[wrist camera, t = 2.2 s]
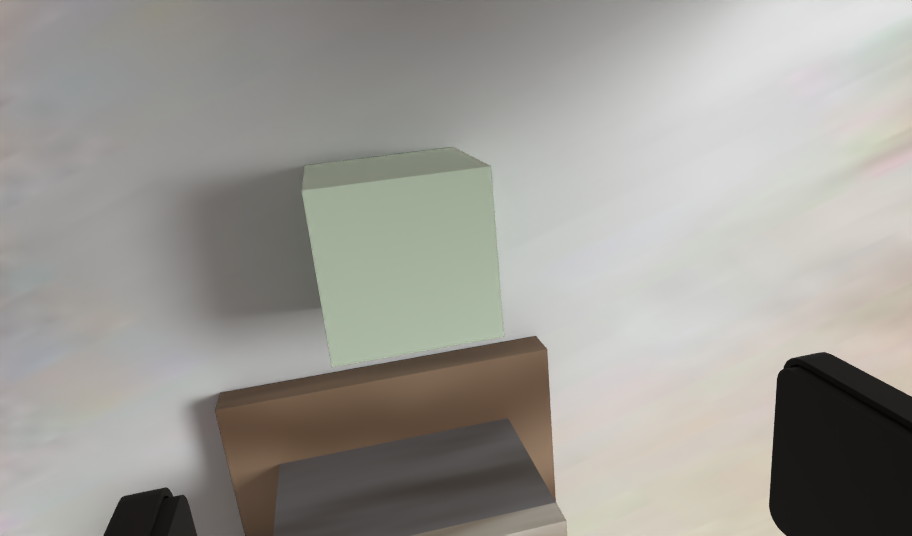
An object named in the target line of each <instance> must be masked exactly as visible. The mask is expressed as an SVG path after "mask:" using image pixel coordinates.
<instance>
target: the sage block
mask: <svg viewBox="0 0 912 536" xmlns="http://www.w3.org/2000/svg"><path fill="white" fill-rule="evenodd" d="M302 196H303V202H304V208H305V214H306V219H307V225H308V231H309V237H310V243H311V249H312V254H313V260H314V266H315V272H316V278H317V284H318V290H319V295H320V301H321V307H322V313H323V319H324V325H325V330H326V336H327V342H328V348H329V354H330V360H331V365H332V367H337V366H343V365H348V364H354V363H360V362H365V361H371V360H376V359H382V358H388V357H393V356H399V355H405V354H410V353H416V352H422V351H427V350H433V349H439V348H444V347H450V346H455V345H461V344H467V343H472V342H478V341H484V340H489V339H495V338H501V337H504V327H503V314H502V301H501V289H500V276H499V263H498V250H497V237H496V224H495V211H494V198H493V185H492V172H491V166H490V165H488V164H486V163H484V162H482V161H480V160H478V159H476V158H474V157H472V156H470V155H468V154H466V153H464V152H462V151H460V150H458V149H456V148H454V147H450V148H442V149H434V150H426V151H418V152H409V153H401V154H393V155H385V156H377V157H369V158H361V159H352V160H344V161H336V162H328V163H320V164H312V165H305V166H304V174H303V183H302Z"/></svg>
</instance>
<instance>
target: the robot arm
mask: <svg viewBox="0 0 912 536" xmlns="http://www.w3.org/2000/svg"><path fill="white" fill-rule="evenodd" d="M769 509H770V513H771V516H772V518H773V520H774V522H775V524H776V525H777V527H778V528H779V529H780V530H781V531H782V532H783V533H784V534H785V535H786V536H912V397H911V396H909V395H907V394H905V393H904V392H902V391H900V390H898V389H896V388H894V387H892V386H890V385H888V384H886V383H885V382H883V381H881V380H879V379H877V378H875V377H873V376H871V375H869V374H867V373H866V372H864V371H862V370H860V369H858V368H856V367H854V366H852V365H850V364H848V363H847V362H845V361H843V360H841V359H839V358H837V357H835V356H833V355H831V354H829V353H826V352H822V353H815V354H810V355H806V356H801V357H796V358H791V359H790V360H788V361H787V362H786V364H785V365H784V369H783V370H781V371H780V372H779V374H778V377H777V389H776V404H775V420H774V436H773V452H772V468H771V483H770V499H769ZM104 536H197V534H196V530H195V526H194V522H193V519H192V515H191V511H190V508H189V504H188V501H187V499H186V497H185V496H184V495H179V496H175V497H173V495H172V493H171V491H170V490H169V489H168V488H161V489H156V490H151V491H146V492H141V493H137V494H132V495H127V496H124V497H122V498H121V499H120V501H119V502H118V505H117V507H116V509H115V511H114V513H113V516H112V518H111V520H110V522H109V524H108V527H107V529H106V531H105V533H104Z"/></svg>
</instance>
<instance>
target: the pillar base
mask: <svg viewBox="0 0 912 536" xmlns="http://www.w3.org/2000/svg"><path fill="white" fill-rule="evenodd" d="M215 413H216V417H217V421H218V425H219V429H220V433H221V437H222V442H223V446H224V450H225V454H226V458H227V462H228V467H229V471H230V475H231V479H232V483H233V487H234V491H235V496H236V500H237V504H238V508H239V512H240V516H241V520H242V525H243V529H244V533H245V536H567V524H566V519H565V517H564V516H563V514H562V512H561V510H560V509H559V507H558V505H557V503H556V499H555V481H554V463H553V446H552V428H551V410H550V392H549V374H548V356H547V349H546V347H545V346H544V345H543V344H542V343H541V341H540V340H539V339H538V338H537V337H536V336H534V337H528V338H523V339H517V340H512V341H506V342H500V343H495V344H489V345H484V346H478V347H473V348H467V349H462V350H456V351H450V352H445V353H439V354H434V355H428V356H423V357H417V358H412V359H406V360H400V361H395V362H389V363H384V364H378V365H373V366H367V367H362V368H356V369H351V370H345V371H339V372H334V373H328V374H323V375H317V376H312V377H306V378H301V379H295V380H289V381H284V382H278V383H273V384H267V385H262V386H256V387H251V388H245V389H240V390H234V391H228V392H223V393H220V395H219V399H218V402H217V405H216V409H215Z"/></svg>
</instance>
